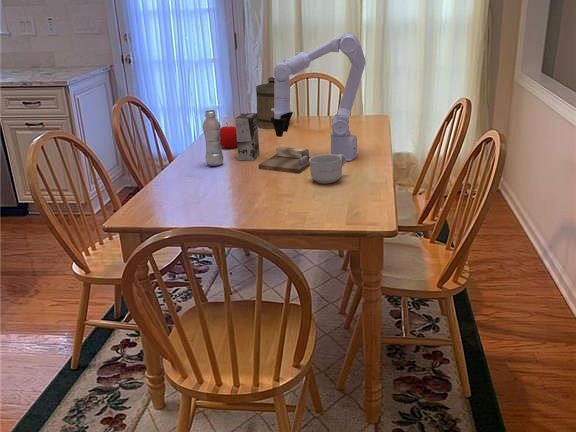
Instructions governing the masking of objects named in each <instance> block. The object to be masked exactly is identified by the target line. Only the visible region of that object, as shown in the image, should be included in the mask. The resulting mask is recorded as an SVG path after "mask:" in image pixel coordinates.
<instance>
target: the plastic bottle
mask: <svg viewBox="0 0 576 432" xmlns="http://www.w3.org/2000/svg"><path fill="white" fill-rule="evenodd" d="M204 114H205V115H204V117H205V119H204V121H203V123H202V131H203V135H204V139H205V140H204V141H205V161H206V164H207V165H208V166H211V167H215V166H221V165H222V164H223V163H224V154H223V150H222V146H221V144H220V128H221V123H220V121H219V120H218V119H217V118H216V117H217V114H216V110H214V109H208V110H205V111H204Z"/></svg>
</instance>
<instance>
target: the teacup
mask: <svg viewBox="0 0 576 432" xmlns="http://www.w3.org/2000/svg"><path fill="white" fill-rule="evenodd" d="M310 157H311V158H310V159H309V162H310V166H309V171H310V176H311V178H312V179H313V180H314V181H316V183H319V184H332V183H335V182H337V181H338V180H339V178H341V176H342V174H343V173H342V172H343V167H344V166H345V164H346V162H347V161H346V157H345V156H344V155H343V154H339V155H334V154H331V153H330V154H329V153H326V154H325V153H324V154H318V155H314V156H310Z"/></svg>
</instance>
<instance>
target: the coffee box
mask: <svg viewBox="0 0 576 432" xmlns="http://www.w3.org/2000/svg"><path fill="white" fill-rule="evenodd" d="M235 127H236V134H237V146H236V147H237V149H236V150H237V159H238V161H249V162H250V161H252V162H253V161H255V160H256V159H257V158H258V156H259V155H260V154H261V153H260V141H259V140H260V138H259V127H258V119H257V112H255V113H254V112H251V113H249V112H248V113H241V114H239V115H238V116H236V117H235Z"/></svg>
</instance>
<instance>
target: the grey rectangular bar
mask: <svg viewBox="0 0 576 432" xmlns="http://www.w3.org/2000/svg"><path fill="white" fill-rule="evenodd" d="M275 155H276V156H283V157H292V158H302V157H303V156H308V158H309V157H310V150H309V149H307V148H297V147H286V146H278V147H277V148H275Z"/></svg>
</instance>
